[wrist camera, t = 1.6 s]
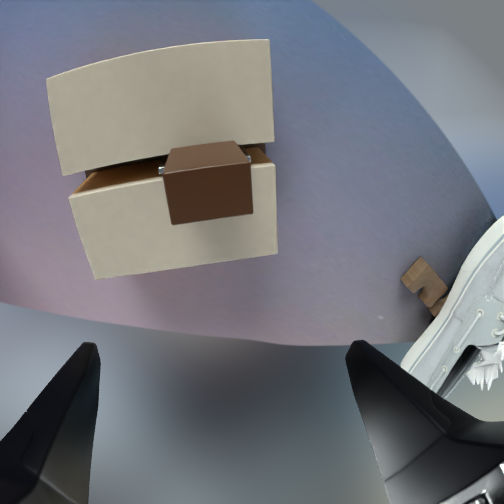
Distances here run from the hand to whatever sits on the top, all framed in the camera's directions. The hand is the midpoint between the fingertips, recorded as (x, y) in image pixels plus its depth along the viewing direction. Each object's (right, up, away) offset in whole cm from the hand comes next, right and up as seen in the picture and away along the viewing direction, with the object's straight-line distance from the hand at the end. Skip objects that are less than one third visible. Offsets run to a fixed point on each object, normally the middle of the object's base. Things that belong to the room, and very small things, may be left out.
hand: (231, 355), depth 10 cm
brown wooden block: (-2, +10, +9) cm, 14 cm away
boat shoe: (+24, -2, +20) cm, 32 cm away
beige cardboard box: (-5, +10, +9) cm, 14 cm away
